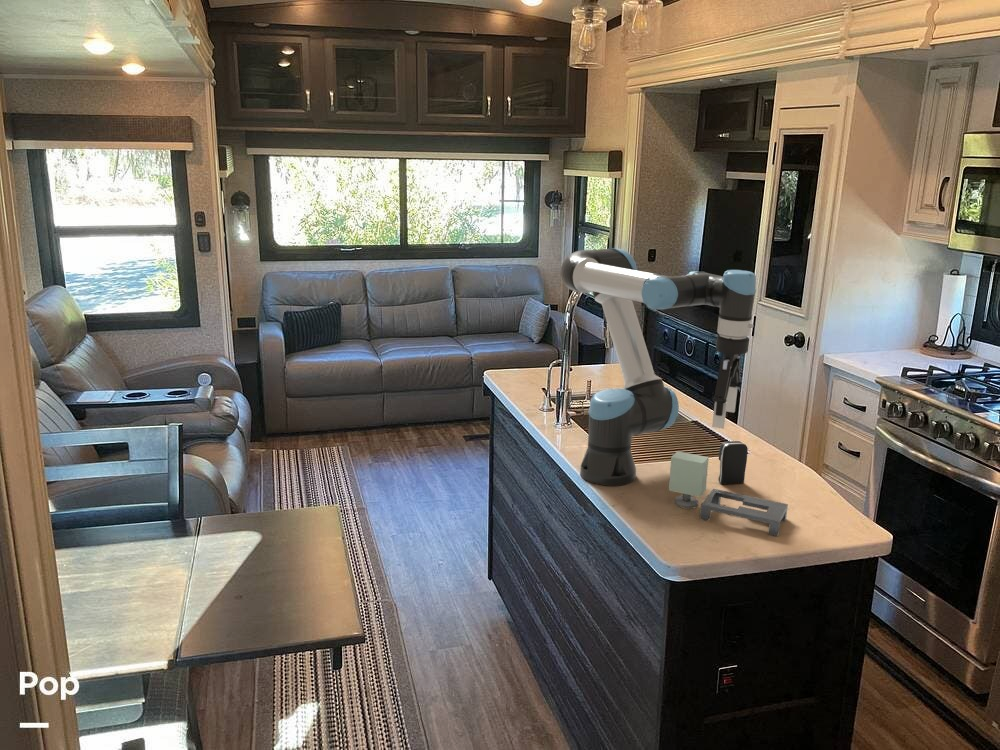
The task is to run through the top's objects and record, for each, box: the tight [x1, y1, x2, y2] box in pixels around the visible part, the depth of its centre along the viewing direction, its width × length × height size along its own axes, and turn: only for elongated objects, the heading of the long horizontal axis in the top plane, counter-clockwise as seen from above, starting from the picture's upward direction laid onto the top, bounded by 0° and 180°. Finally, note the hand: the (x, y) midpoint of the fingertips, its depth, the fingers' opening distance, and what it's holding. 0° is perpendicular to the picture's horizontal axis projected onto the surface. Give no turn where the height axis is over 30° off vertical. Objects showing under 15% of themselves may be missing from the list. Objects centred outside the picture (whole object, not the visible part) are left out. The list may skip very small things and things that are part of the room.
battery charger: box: [718, 440, 749, 485], centre depth 210 cm, size 7×4×11 cm, turn 100°
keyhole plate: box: [699, 488, 789, 537], centre depth 189 cm, size 18×11×4 cm, turn 60°
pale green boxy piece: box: [668, 450, 710, 509], centre depth 196 cm, size 8×6×12 cm
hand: (723, 419), depth 194 cm, fingers open, 13 cm apart
